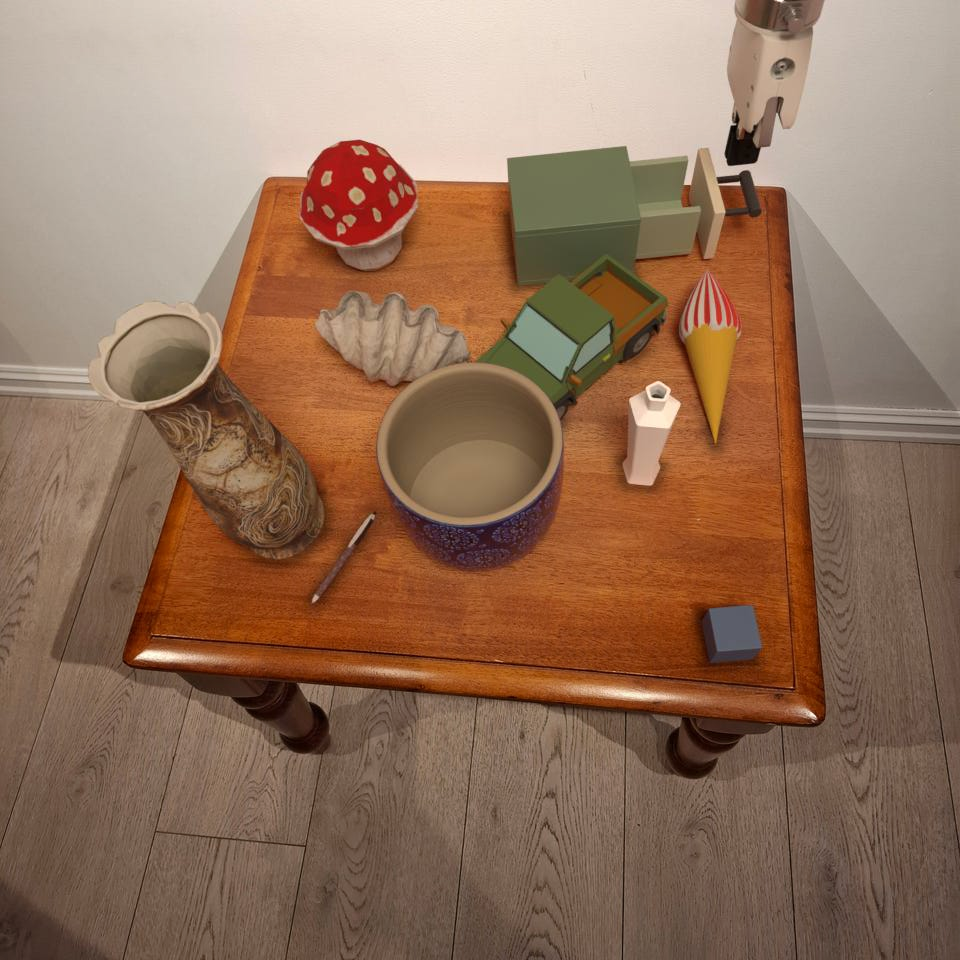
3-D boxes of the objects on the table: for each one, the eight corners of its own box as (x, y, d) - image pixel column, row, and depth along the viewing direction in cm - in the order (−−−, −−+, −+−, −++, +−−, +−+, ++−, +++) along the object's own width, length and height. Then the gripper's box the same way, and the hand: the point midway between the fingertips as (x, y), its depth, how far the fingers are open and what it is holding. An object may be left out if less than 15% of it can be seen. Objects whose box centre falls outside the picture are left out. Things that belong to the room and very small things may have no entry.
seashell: (373, 306, 99) (356, 247, 90) (479, 359, 94) (472, 303, 86) (320, 369, 95) (297, 314, 86) (427, 427, 91) (414, 375, 82)
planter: (589, 478, 87) (597, 402, 73) (514, 615, 81) (508, 559, 68) (451, 417, 91) (434, 334, 78) (370, 542, 85) (338, 476, 72)
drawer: (738, 191, 102) (752, 142, 95) (756, 254, 97) (771, 207, 91) (595, 205, 102) (598, 158, 96) (606, 268, 98) (610, 223, 91)
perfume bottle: (669, 485, 86) (692, 408, 72) (627, 493, 86) (642, 417, 72) (657, 446, 88) (677, 365, 75) (616, 454, 88) (629, 374, 74)
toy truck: (464, 390, 93) (455, 336, 84) (598, 280, 98) (603, 218, 89) (536, 455, 88) (536, 404, 80) (673, 336, 94) (686, 276, 85)
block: (743, 617, 79) (753, 604, 76) (752, 659, 77) (762, 647, 74) (701, 621, 79) (708, 608, 76) (709, 663, 77) (717, 651, 74)
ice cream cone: (698, 455, 92) (690, 286, 96) (755, 447, 88) (745, 271, 93) (673, 443, 87) (666, 266, 92) (732, 433, 83) (723, 249, 88)
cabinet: (620, 204, 103) (626, 145, 95) (633, 275, 98) (641, 218, 90) (509, 215, 104) (506, 157, 96) (517, 286, 99) (515, 231, 91)
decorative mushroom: (413, 303, 99) (392, 209, 85) (301, 289, 101) (264, 195, 87) (439, 215, 105) (424, 114, 91) (333, 203, 107) (303, 103, 93)
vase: (315, 572, 84) (208, 419, 57) (215, 559, 86) (65, 404, 59) (339, 480, 89) (250, 299, 62) (244, 469, 90) (117, 287, 63)
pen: (373, 511, 87) (371, 507, 86) (379, 515, 86) (377, 511, 86) (309, 603, 83) (306, 599, 82) (315, 606, 82) (313, 603, 82)
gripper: (846, 44, 70) (791, 207, 87) (803, -61, 77) (760, 108, 94) (756, 54, 71) (718, 214, 87) (721, -52, 78) (692, 115, 94)
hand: (740, 159), depth 90 cm, fingers closed
